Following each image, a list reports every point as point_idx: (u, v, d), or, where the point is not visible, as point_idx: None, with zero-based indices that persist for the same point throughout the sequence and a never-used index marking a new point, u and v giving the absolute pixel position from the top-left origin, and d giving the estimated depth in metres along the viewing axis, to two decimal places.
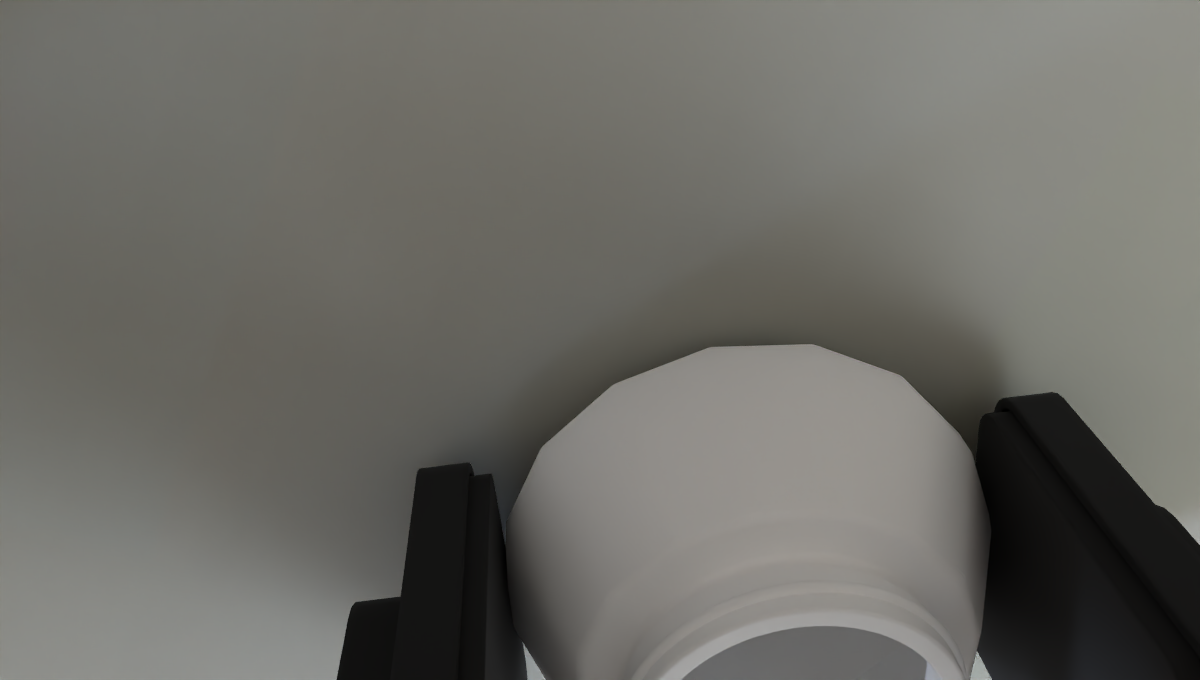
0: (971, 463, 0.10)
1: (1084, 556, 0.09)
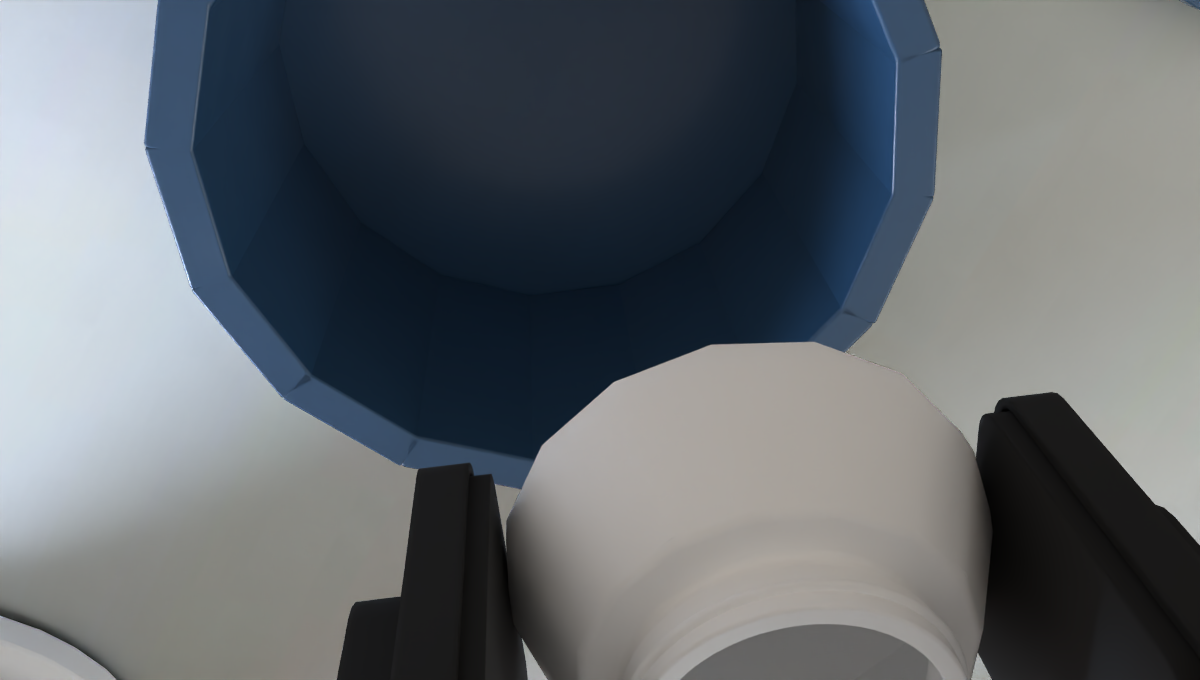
0: (973, 461, 0.10)
1: (1084, 556, 0.09)
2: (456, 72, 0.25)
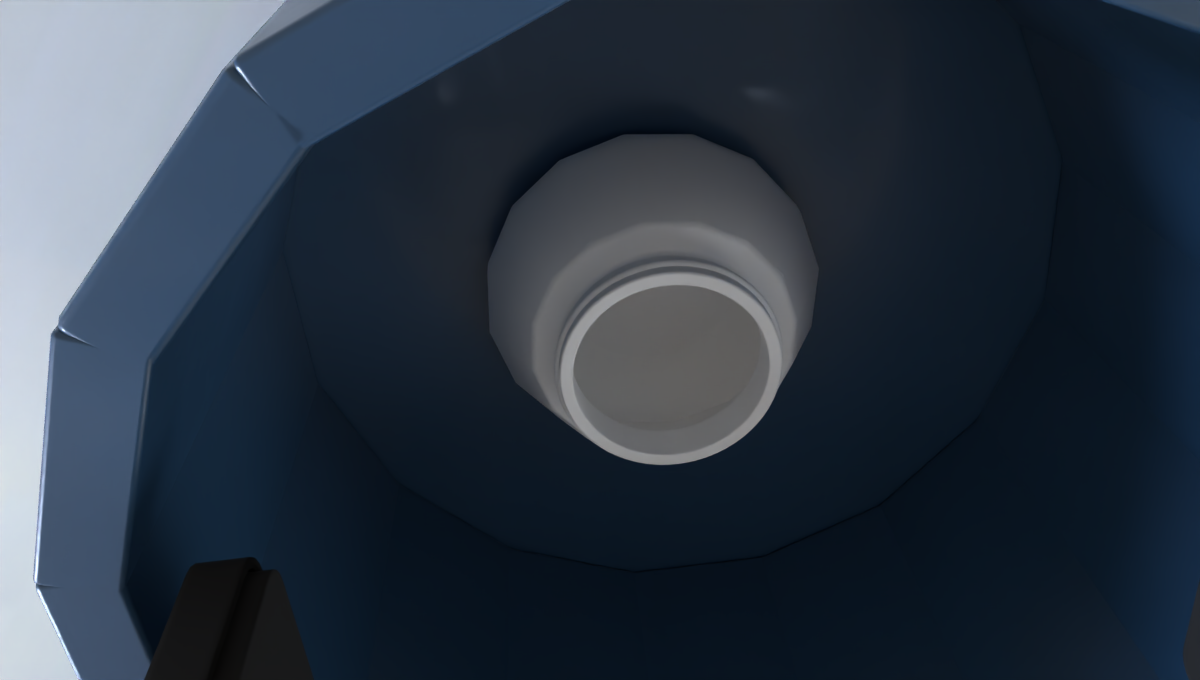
0: (799, 218, 0.15)
1: None
2: None
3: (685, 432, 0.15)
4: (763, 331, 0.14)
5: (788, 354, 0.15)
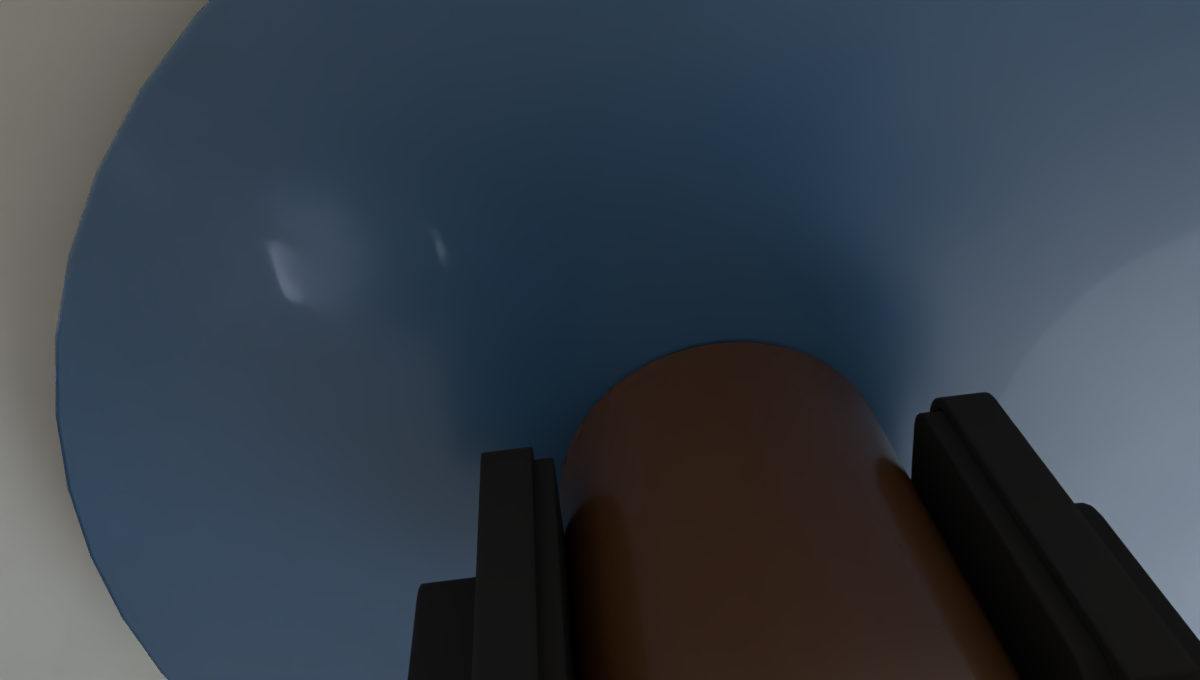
0: None
1: (1003, 553, 0.09)
2: None
3: None
4: None
5: None
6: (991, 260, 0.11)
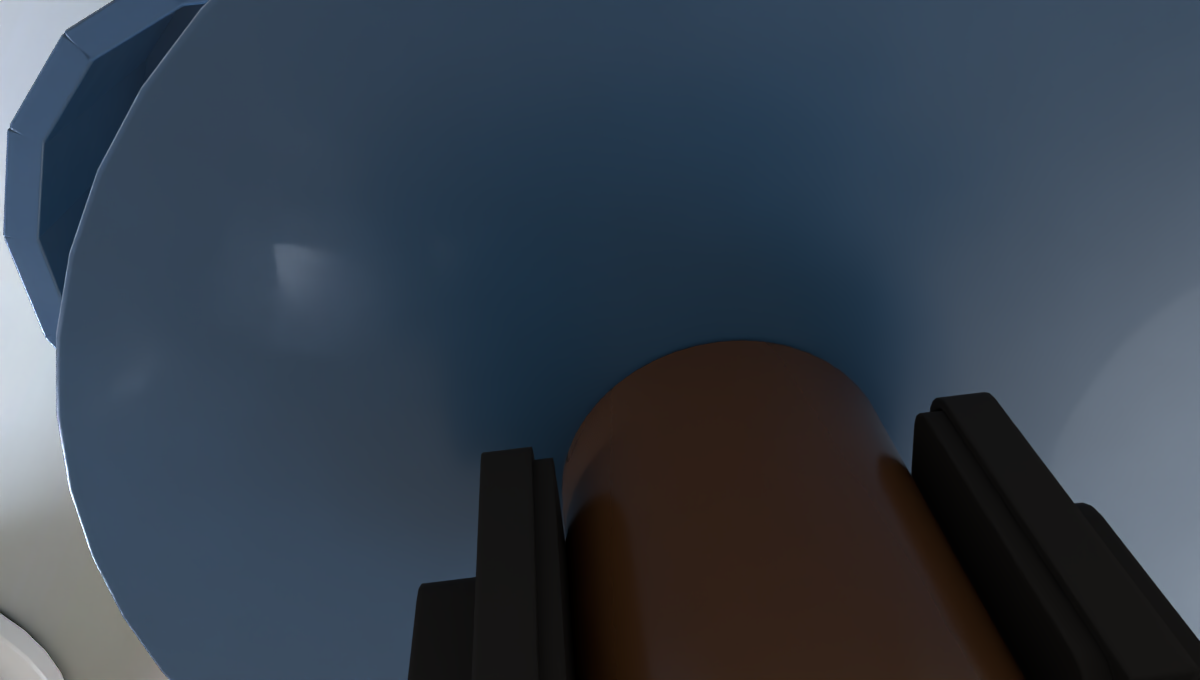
0: None
1: (1003, 553, 0.09)
2: None
3: None
4: None
5: None
6: (993, 259, 0.11)
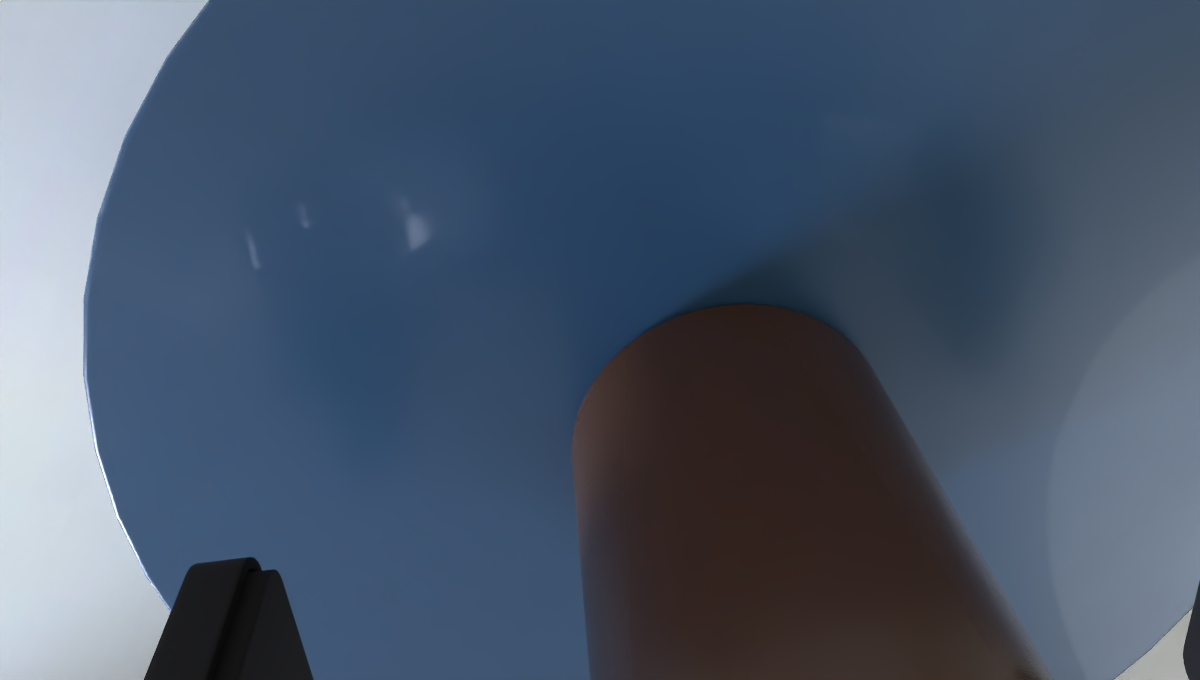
0: None
1: None
2: None
3: None
4: None
5: None
6: (989, 224, 0.12)
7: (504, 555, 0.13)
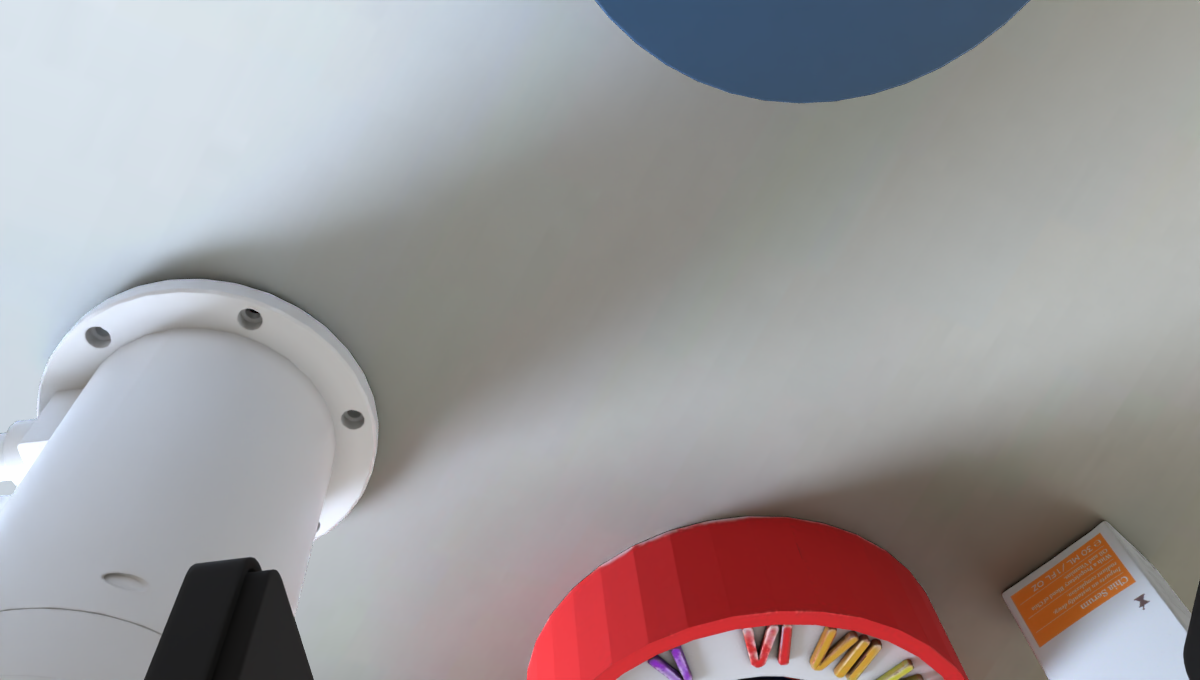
0: None
1: None
2: None
3: None
4: None
5: None
6: None
7: None
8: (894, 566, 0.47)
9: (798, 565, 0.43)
